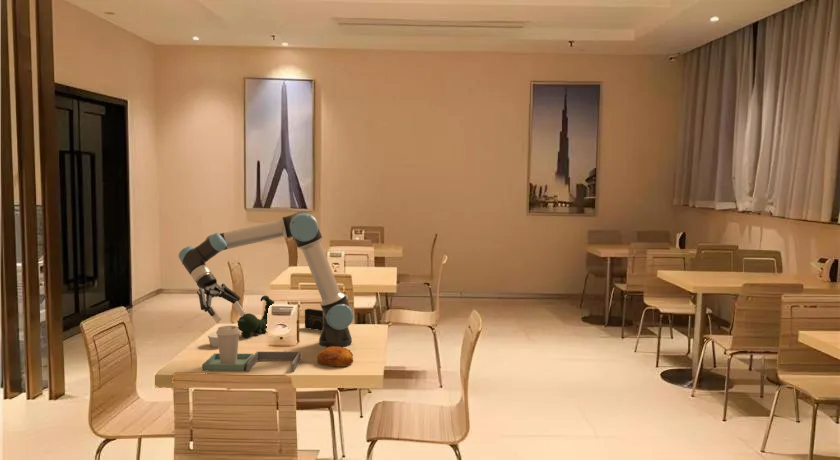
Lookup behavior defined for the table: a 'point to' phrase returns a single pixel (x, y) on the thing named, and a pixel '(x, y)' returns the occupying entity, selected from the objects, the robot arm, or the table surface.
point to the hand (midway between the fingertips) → (231, 318)
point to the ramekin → (213, 340)
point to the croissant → (335, 356)
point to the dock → (275, 358)
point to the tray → (215, 365)
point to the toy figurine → (254, 321)
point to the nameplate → (314, 319)
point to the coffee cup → (228, 344)
